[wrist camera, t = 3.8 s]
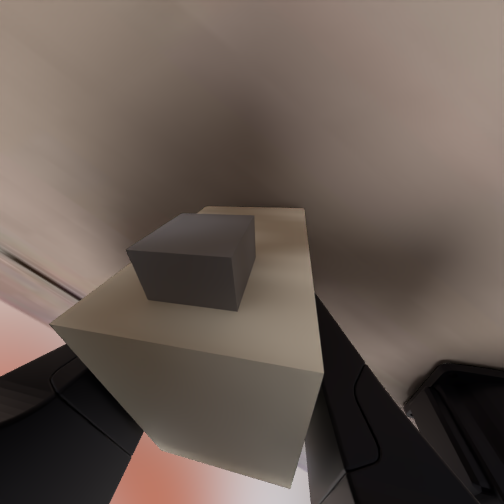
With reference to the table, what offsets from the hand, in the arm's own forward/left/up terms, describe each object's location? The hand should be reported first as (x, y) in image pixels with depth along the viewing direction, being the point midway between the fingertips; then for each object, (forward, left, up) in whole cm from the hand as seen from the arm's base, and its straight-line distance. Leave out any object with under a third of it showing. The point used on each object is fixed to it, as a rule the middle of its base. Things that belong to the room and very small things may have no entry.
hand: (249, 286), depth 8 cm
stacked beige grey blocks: (0, 0, -1) cm, 1 cm away
